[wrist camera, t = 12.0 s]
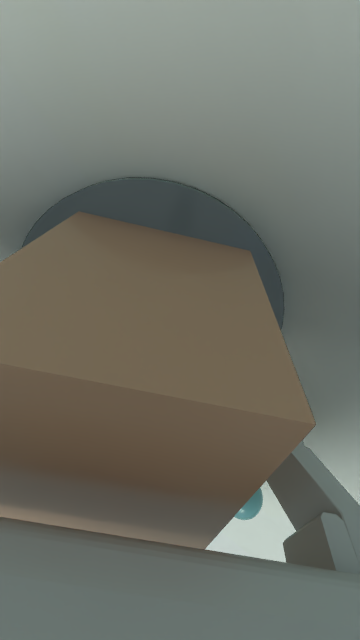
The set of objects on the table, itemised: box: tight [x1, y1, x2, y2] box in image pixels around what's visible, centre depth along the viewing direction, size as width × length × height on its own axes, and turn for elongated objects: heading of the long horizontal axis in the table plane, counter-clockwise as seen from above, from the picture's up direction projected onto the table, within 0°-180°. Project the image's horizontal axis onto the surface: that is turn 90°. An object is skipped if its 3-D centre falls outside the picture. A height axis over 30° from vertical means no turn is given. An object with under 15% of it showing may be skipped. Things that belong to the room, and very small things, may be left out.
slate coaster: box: [21, 178, 284, 330], centre depth 13 cm, size 12×12×1 cm
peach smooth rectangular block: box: [0, 211, 316, 549], centre depth 9 cm, size 6×9×7 cm
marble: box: [234, 488, 263, 520], centre depth 20 cm, size 3×3×3 cm
